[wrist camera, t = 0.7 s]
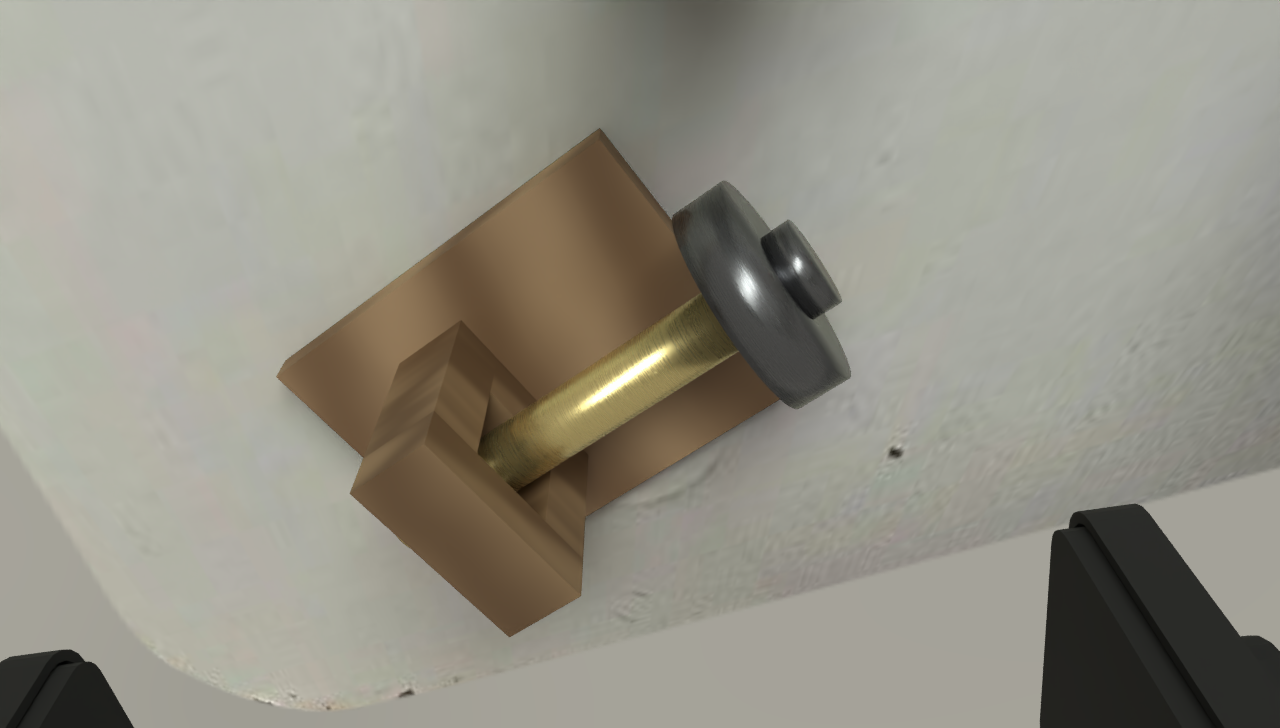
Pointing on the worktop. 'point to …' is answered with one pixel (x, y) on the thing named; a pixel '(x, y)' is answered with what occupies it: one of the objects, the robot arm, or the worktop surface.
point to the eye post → (515, 380)
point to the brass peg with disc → (694, 338)
